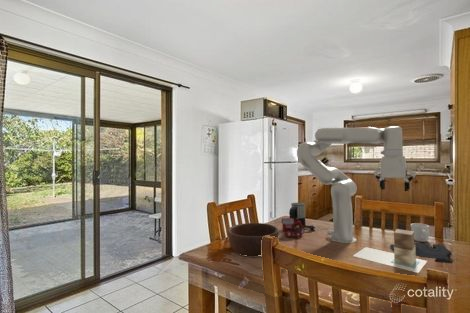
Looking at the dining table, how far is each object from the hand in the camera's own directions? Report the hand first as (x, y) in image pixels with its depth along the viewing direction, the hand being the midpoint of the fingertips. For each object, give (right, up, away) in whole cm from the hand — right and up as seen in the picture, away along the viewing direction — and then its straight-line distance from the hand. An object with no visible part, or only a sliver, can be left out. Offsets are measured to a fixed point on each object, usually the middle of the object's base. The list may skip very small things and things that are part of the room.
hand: (394, 190), depth 119 cm
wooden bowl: (-65, -31, +7) cm, 72 cm away
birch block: (-5, -27, -15) cm, 32 cm away
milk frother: (-31, -30, +43) cm, 61 cm away
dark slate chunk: (+8, -29, -5) cm, 30 cm away
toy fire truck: (-41, -30, +26) cm, 57 cm away
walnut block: (-5, -21, -15) cm, 26 cm away
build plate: (-9, -29, -11) cm, 32 cm away
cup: (+21, -28, +12) cm, 37 cm away
